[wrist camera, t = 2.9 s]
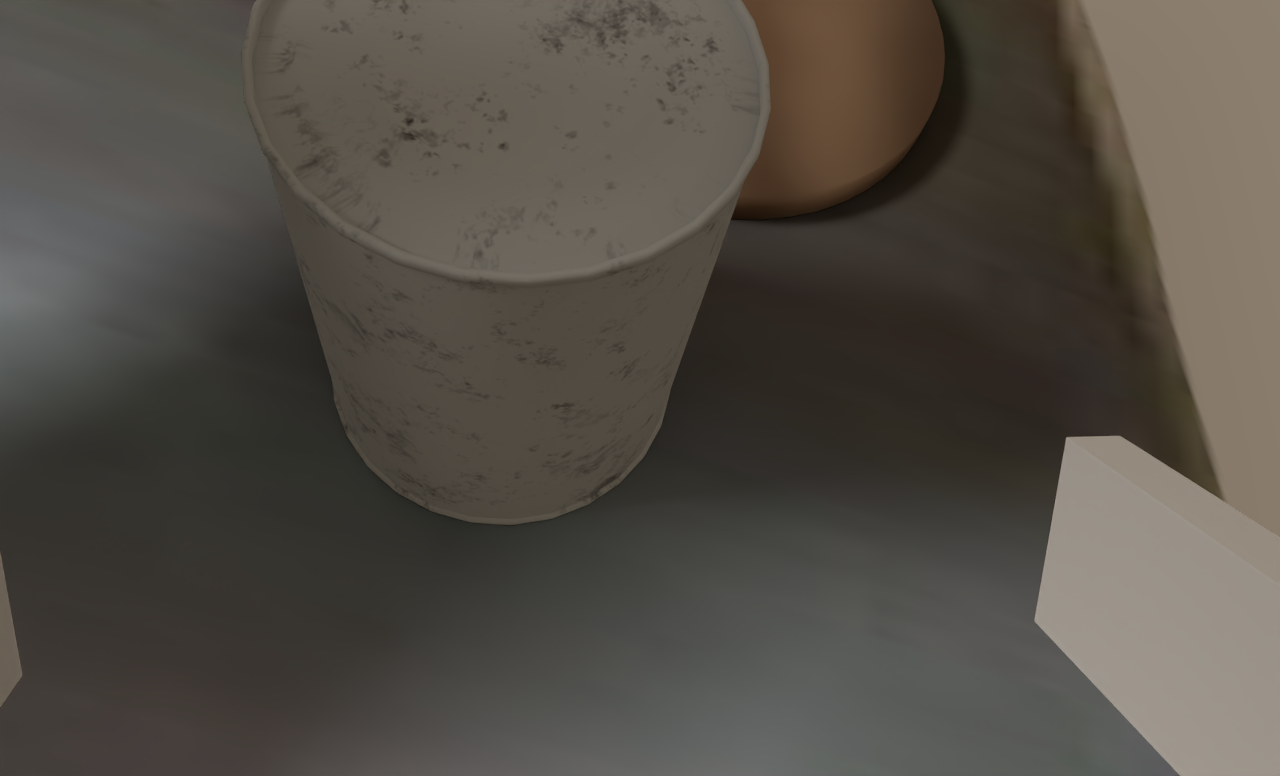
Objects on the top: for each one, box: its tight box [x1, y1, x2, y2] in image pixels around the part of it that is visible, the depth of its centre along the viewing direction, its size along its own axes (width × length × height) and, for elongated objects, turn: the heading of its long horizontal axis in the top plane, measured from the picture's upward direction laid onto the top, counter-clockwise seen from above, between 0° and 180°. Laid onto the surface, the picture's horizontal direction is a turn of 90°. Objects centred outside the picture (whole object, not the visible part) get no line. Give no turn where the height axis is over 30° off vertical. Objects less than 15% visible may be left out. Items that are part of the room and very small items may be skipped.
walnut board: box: [731, 0, 945, 219], centre depth 36 cm, size 15×15×1 cm
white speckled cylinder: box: [241, 0, 771, 525], centre depth 25 cm, size 10×10×12 cm
